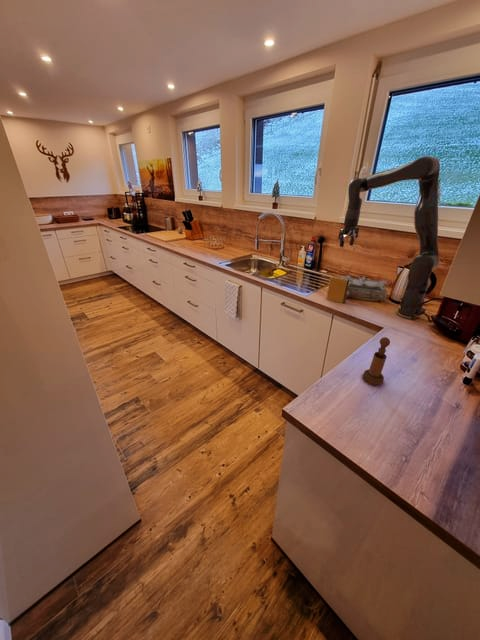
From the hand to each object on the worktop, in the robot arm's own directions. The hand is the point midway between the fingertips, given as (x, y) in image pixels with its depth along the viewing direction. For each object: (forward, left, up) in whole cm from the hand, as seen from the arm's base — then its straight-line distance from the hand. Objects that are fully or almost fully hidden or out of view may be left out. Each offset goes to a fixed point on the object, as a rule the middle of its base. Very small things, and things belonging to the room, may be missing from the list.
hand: (346, 246), depth 158 cm
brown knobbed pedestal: (-62, +63, -29) cm, 93 cm away
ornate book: (-14, -7, -29) cm, 32 cm away
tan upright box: (-10, +15, -28) cm, 34 cm away
